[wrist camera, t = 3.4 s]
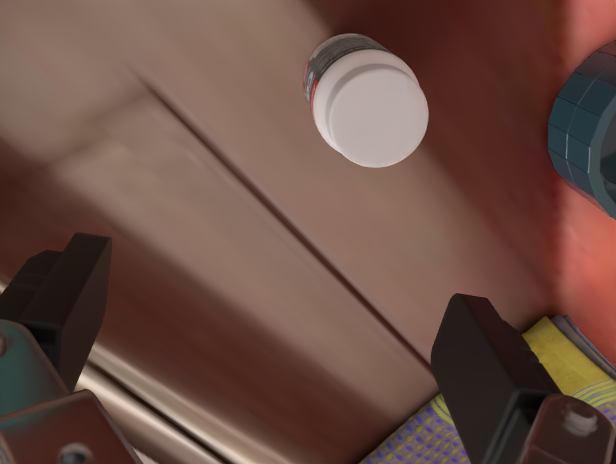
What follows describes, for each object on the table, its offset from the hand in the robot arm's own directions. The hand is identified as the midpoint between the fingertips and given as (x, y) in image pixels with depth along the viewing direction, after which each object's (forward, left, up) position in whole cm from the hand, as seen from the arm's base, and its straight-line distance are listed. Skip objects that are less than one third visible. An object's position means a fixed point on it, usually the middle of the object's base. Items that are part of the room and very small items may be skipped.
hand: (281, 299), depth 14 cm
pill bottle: (+3, +3, -19) cm, 20 cm away
